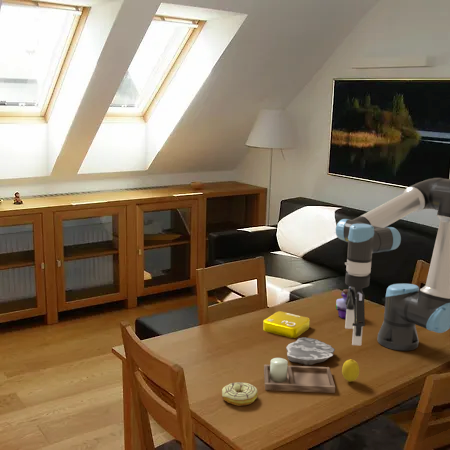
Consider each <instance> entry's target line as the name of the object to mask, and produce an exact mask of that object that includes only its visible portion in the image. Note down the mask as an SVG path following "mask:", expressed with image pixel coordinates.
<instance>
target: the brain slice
mask: <svg viewBox="0 0 450 450" xmlns="http://www.w3.org/2000/svg"><path fill="white" fill-rule="evenodd" d="M285 349H286V355H287V360H289V361H290V362H292V363H295V364H296V363H298V364H301V365H304V366H313V365H315V364H319V363H324V362H325V361H327V360H328V359H329V358H331V357H333V356H334V353H335V350H336V349H335V348H334V347H332V345H330V344H328V343H326V342H324V341H321V340H319V339H316V338H311V337H298V338H297V340H295V341H293V342H291V343H288V345H286V347H285Z"/></svg>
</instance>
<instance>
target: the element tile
mask: <svg viewBox="0 0 450 450" xmlns="http://www.w3.org/2000/svg"><path fill="white" fill-rule="evenodd" d="M309 329H310V318H309V317H308V316H304V315H303V316H302V315H298V314H293V313H290V312H286V311H281V310H278V311H276V312H274V313H273V314H272V315H269V316H268V317H267V318H265V319H263V323H262V330H263V331H264V332H266V333H270V334H275V335H278V336H282V337H286V338H290V339H296V338H297V339H298V338H299V337H300V336H301V335H302V334H304V333H305V332H307V331H308V330H309Z"/></svg>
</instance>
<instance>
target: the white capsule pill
mask: <svg viewBox="0 0 450 450" xmlns="http://www.w3.org/2000/svg"><path fill="white" fill-rule="evenodd" d="M288 364H289V363H288V359H285V358H282V357H273V358H272V359H270V364H269V365H270V380H272V381H274V382H279V383H280V382H285V381H286V380H287V368H288V366H289V365H288Z"/></svg>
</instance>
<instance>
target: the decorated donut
mask: <svg viewBox="0 0 450 450" xmlns="http://www.w3.org/2000/svg"><path fill="white" fill-rule="evenodd" d="M221 397H222V399H223V401H225V402H227V403H228V404H232V405H234V406H238V407H240V406H247V405H251V404H253V403H254V402H255V400H257V398H258V389H257V387H256V386H254V385H253V384H251V383H250V382H249V383H247V382H239V381H238V382H231V383H228V384H226V385H225V386H223V388H222V389H221Z"/></svg>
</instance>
